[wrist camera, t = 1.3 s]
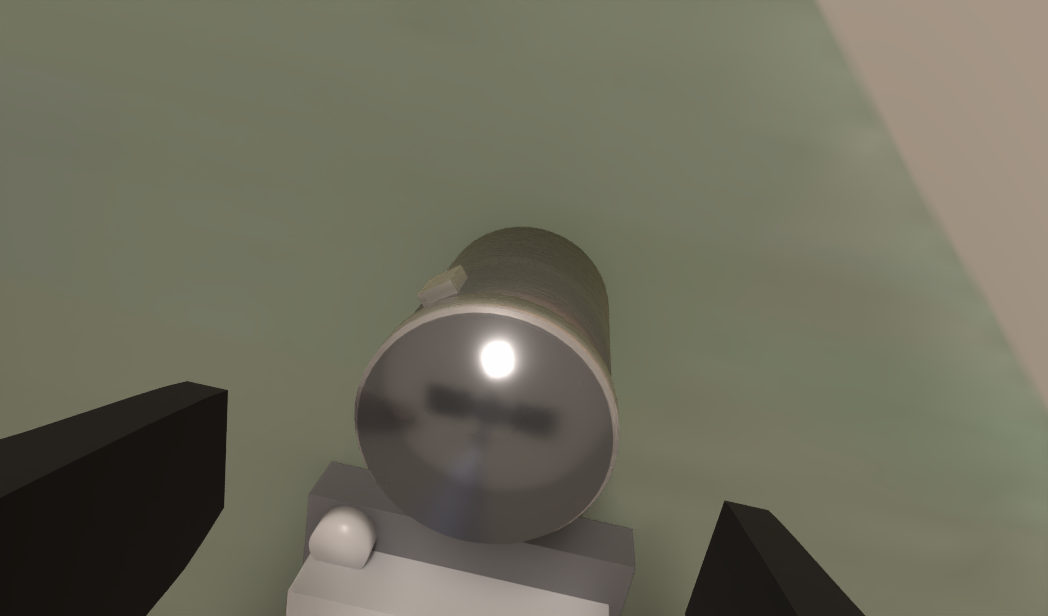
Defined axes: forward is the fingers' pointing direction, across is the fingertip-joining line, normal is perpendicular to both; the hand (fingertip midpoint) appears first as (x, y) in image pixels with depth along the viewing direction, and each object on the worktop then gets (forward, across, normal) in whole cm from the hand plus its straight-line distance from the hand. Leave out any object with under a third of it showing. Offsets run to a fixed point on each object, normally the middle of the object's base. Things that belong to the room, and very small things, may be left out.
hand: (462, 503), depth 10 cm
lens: (+8, 0, 0) cm, 8 cm away
